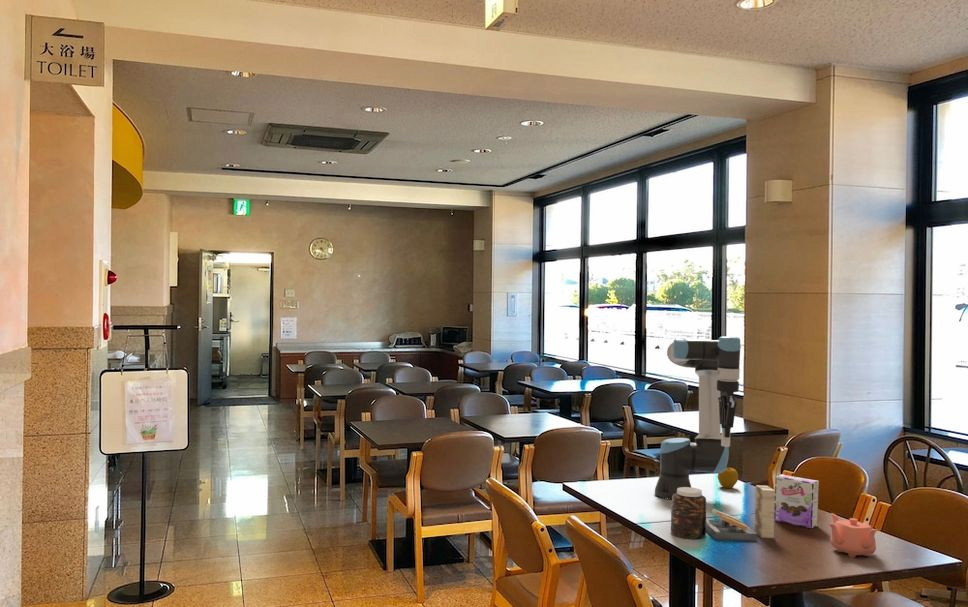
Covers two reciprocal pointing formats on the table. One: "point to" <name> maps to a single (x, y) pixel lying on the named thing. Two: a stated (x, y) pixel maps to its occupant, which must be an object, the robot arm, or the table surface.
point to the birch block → (764, 511)
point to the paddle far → (724, 515)
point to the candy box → (796, 501)
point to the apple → (728, 478)
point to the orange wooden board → (732, 521)
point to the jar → (688, 513)
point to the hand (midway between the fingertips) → (725, 445)
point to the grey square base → (729, 531)
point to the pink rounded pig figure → (852, 537)
